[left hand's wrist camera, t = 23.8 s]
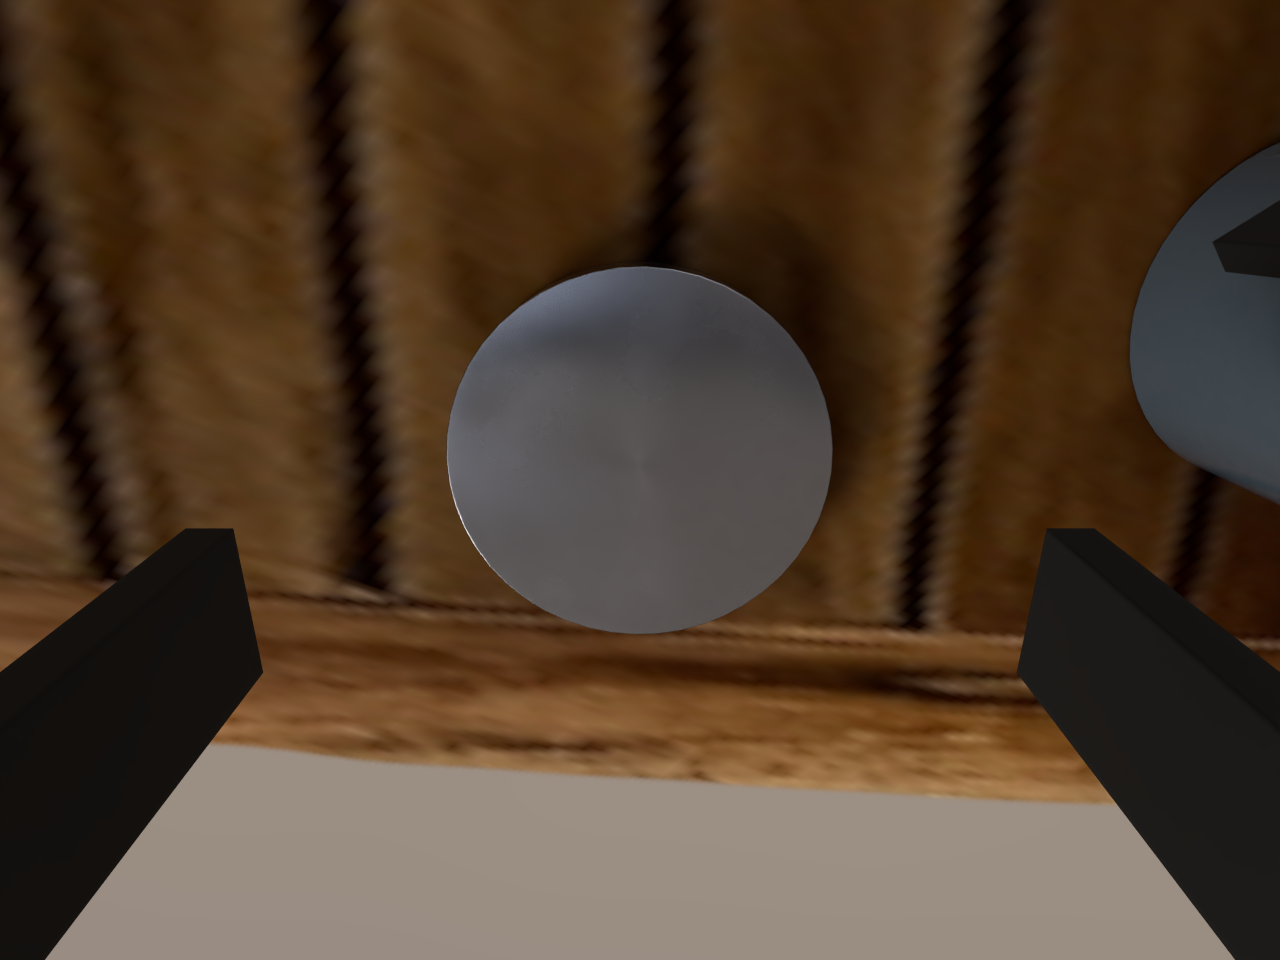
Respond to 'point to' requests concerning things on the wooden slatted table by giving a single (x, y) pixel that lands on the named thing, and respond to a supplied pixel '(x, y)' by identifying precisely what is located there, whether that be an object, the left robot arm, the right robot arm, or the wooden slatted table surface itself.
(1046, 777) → the wooden slatted table surface
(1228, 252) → the right robot arm
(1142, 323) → the jar
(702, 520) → the lid
